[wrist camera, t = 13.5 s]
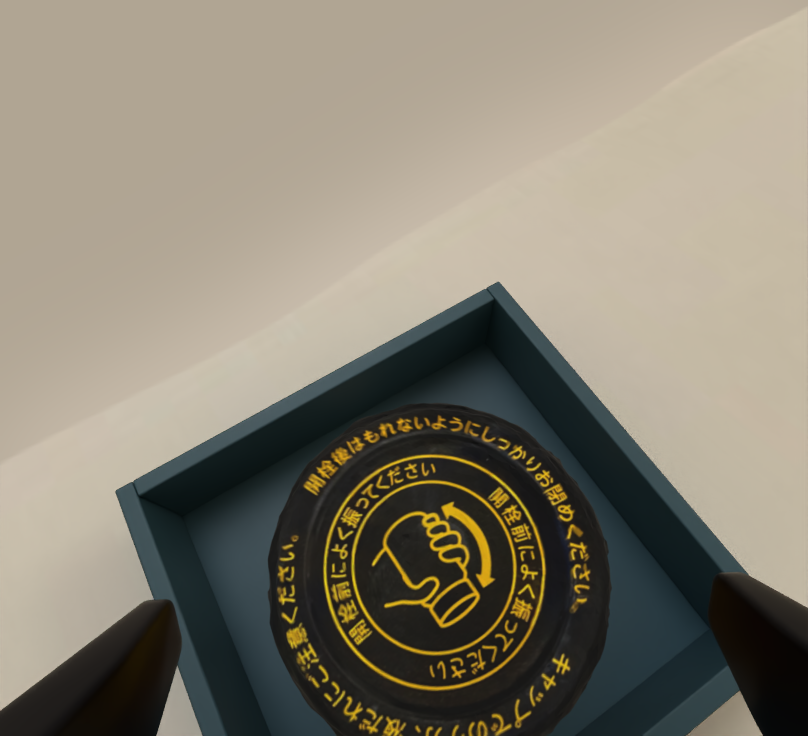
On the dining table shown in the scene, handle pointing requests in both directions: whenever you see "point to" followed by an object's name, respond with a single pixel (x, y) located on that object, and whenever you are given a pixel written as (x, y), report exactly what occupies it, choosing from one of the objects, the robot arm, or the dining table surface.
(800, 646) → the robot arm
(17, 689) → the dining table surface
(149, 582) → the tote
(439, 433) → the condiment
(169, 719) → the dining table surface
